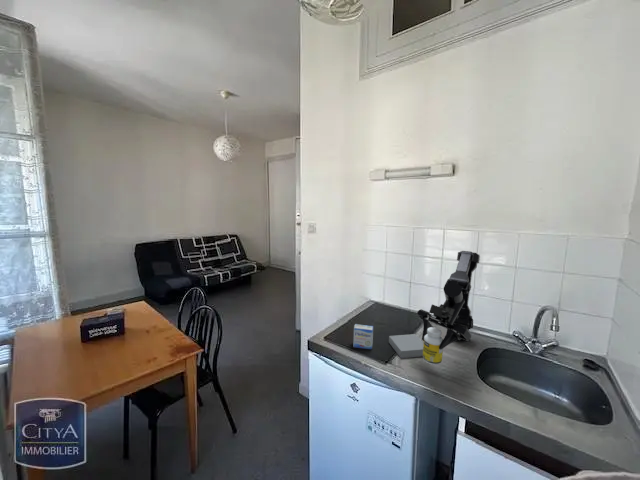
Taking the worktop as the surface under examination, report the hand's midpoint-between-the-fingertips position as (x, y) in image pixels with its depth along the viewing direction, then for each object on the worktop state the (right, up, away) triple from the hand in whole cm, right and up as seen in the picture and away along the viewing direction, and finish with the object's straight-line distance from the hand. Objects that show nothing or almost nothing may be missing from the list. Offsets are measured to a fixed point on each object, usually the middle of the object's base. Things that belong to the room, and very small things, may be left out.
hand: (431, 344), depth 99 cm
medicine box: (-21, -8, +20) cm, 30 cm away
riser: (-2, -8, +18) cm, 20 cm away
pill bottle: (+1, -7, +2) cm, 7 cm away
